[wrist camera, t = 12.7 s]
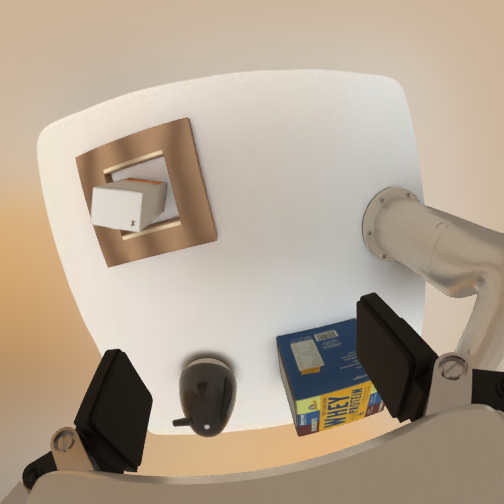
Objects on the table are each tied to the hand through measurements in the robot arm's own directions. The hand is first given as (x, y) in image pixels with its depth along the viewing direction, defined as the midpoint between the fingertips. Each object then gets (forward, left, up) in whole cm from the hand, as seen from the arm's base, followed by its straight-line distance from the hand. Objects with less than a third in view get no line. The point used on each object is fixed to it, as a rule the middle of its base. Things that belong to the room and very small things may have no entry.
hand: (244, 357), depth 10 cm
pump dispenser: (+11, +28, -31) cm, 43 cm away
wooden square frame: (+11, -5, -30) cm, 33 cm away
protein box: (-10, +29, -31) cm, 43 cm away
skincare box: (+11, -5, -31) cm, 33 cm away
